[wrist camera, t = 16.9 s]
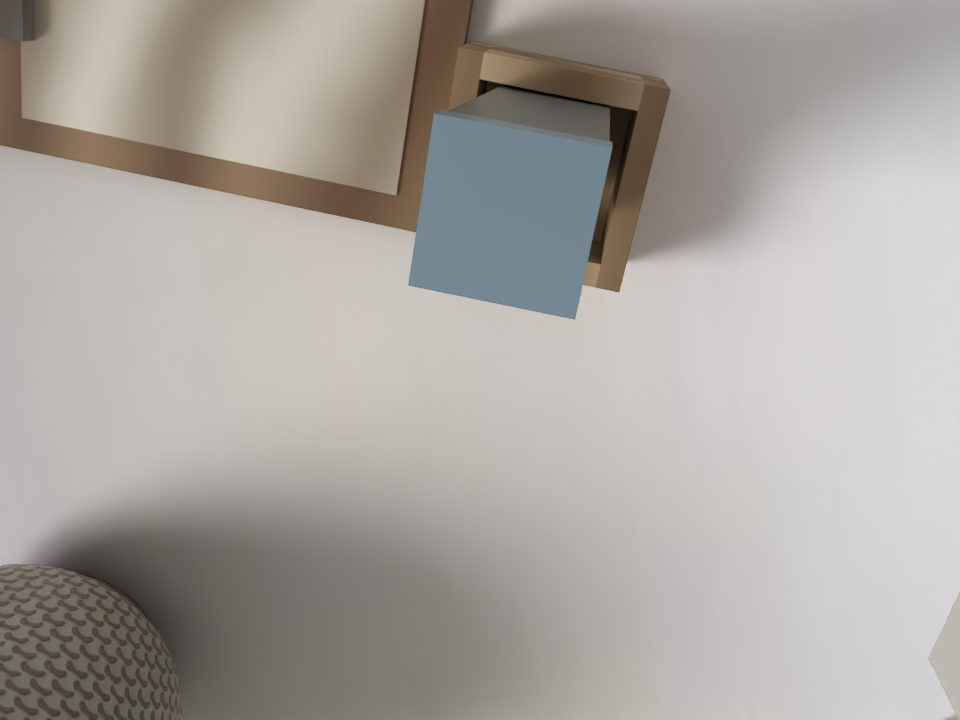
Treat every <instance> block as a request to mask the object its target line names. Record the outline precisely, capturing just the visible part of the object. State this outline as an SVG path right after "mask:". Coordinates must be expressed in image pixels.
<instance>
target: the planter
mask: <svg viewBox="0 0 960 720" xmlns="http://www.w3.org/2000/svg"><path fill="white" fill-rule="evenodd" d="M181 712H182V700H181V686H180V681H179V677H178V674H177V670H176V667H175V664H174V661H173V659H172V657H171V654H170V652H169V650H168V648H167V646H166V644H165V642H164V641H163V639H162V638H161V636H160V635H159V633H158V631H157V630H156V629H155V628H154V626H153V625H152V624H151V623H150V622H149V620H148V619H147V617H146V616H145V614H144V613H143V611H142V610H141V609H140V608H139V607H138V605H137V604H136V603H135V602H134V601H133V600H132V599H130V598H129V597H128V596H127V595H126V594H124V593H123V592H122V591H120V590H119V589H117V588H115V587H114V586H112V585H110V584H108V583H106V582H104V581H101V580H99V579H96V578H92V577H89V576H85V575H81V574H79V573H76V572H73V571H69V570H65V569H61V568H57V567H52V566H44V565H37V564H8V565H2V566H0V720H181Z"/></svg>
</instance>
